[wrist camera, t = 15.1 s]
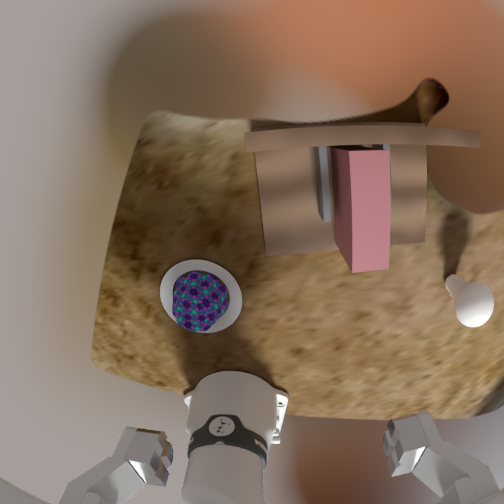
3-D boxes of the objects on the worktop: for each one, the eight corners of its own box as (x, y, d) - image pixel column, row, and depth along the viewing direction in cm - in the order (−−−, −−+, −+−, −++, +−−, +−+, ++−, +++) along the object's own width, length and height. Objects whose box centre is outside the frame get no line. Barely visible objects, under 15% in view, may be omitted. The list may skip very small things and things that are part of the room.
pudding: (157, 255, 42) (144, 271, 37) (242, 258, 41) (239, 275, 36) (166, 326, 46) (156, 347, 41) (242, 332, 46) (239, 354, 41)
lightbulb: (440, 258, 39) (479, 293, 29) (468, 263, 39) (507, 296, 29) (427, 295, 42) (460, 335, 31) (456, 298, 42) (489, 335, 31)
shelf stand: (421, 239, 39) (469, 280, 26) (266, 253, 41) (264, 304, 28) (421, 123, 33) (479, 124, 21) (252, 128, 35) (243, 124, 23)
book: (365, 240, 38) (388, 268, 30) (335, 242, 38) (352, 272, 30) (362, 146, 34) (389, 150, 25) (330, 147, 34) (348, 151, 26)
